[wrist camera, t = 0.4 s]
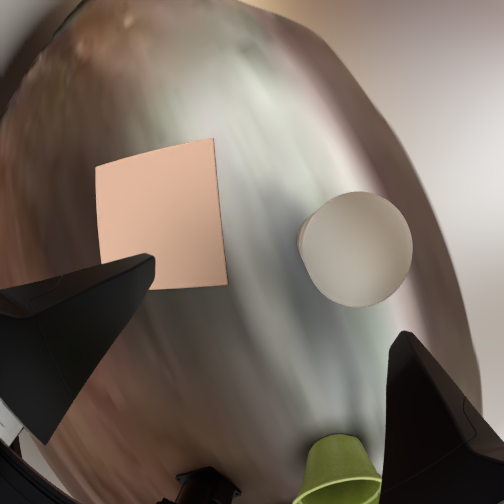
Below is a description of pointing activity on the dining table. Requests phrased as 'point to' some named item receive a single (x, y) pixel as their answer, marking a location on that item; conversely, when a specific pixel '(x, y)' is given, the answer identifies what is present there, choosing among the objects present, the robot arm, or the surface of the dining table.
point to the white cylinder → (356, 249)
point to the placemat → (164, 214)
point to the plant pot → (339, 473)
